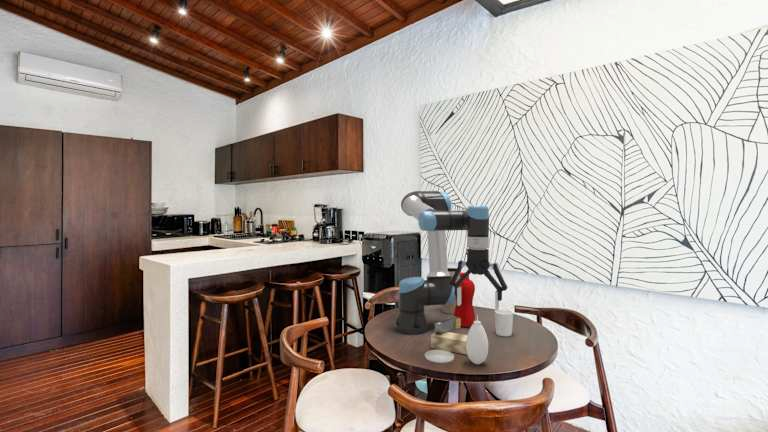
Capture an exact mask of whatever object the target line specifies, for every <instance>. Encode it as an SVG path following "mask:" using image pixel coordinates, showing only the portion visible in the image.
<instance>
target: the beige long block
mask: <svg viewBox="0 0 768 432" xmlns="http://www.w3.org/2000/svg"><path fill="white" fill-rule="evenodd" d="M467 336H468V334H462V333H457V332H450V331H446V332H444V333H442V334H436V333H435V331H434V332H433V333H431V335H430V348H431V349H434V350H445V351H449V352H451V353H452V352H453V353H457V354H464V355H467V356H468V354H467V350H466V340H467Z"/></svg>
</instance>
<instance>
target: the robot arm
mask: <svg viewBox="0 0 768 432" xmlns="http://www.w3.org/2000/svg"><path fill="white" fill-rule="evenodd" d="M400 207H401V210H402V212H403V213H404V214H406V215H407V216H409V217H412V218H414V219H415V220H416V221H417V222H418V227H419V229H420V230H421V231H425V232H427V233H426V235H427V251H428V266H429V268H428V269H429V271H428V272H429V273H428V274H427V275H426V279H425V278H424V277H422V276H412V277H405V278H403V279H402V280H400V281H399V285H398V314H397V316H396V320H395V324H394V329H395V331H397V332H398V333H402V334H406V335H420V334H423V333H427V331H428V330H429V324H428V320H427V317H426V314H425V307H426V306H427V307H428V306H442V305H446V304H452V303H453V302H454V300H455V298H456V296H457V306H460V305H461V287H459V285H460V284H461V283H462V282H463V281H464V280H465V279H466V277H467V276H468V275H469V276H470V274H472V275H480V276H482V275H484V277H486V278H487V280H488V281H489V282H490V284H492V286H493V287H494V288H495V289H496V291H494V293H495V294H494V296H495V297H494V303H495V304H494V305H495V306H494V311H495V310H496V311H497V310H498V309H500V302H501V301H502V300H503V292H504V291H507V289H508V285H507V283H506V281H505V280H504V277H503V275H502V273H501V270H500V269H499V262H494V263H493V262H492V263H491V262H490V260H489V259H490V257H489V256H490V255H489V253H490V250H489V249H488V248H490V247H489V246H490V238H489V237H490V236H489V235H490V223H489V222H490V213H489V211H490V210H489V207H488V206H487V205H468V207H466V210H463V209H461V210H452V202H451V198H450V196H449V194H448V193H447V192H446V191H439V190H426V191H425V190H424V191H423V190H422V191H420V190H416V191H415V190H414V191H411V192H409V193H407V194H406V195H405V196H404V197H403V198H402V199H401V201H400ZM446 231H466V233H467V234H466V236H467V237H466V247H467V249H466V261H465V260H462V259H461V260H459V261H458V263H457V267H456V268H457V269H456V271H455V273H454V275H453V277H452V278H451V274H449V273H448V268H449V267H448V256H447V255H448V254H447V251H448V250H447V239H446ZM465 266H466V267H467V270H466V271H465V272H464V273H465V274H464V275H463V276H462V277H461V278H460V279H459V280H458V282H457V283H456V279H457V277H458V275H459V273H460V272H461V273H462V270H463V268H464V267H465ZM489 268H491V269H492V270H493V272H494V275H495V277H496V278H497V280H498V281H497V280H496V279H495V277H494V276H493V275H492V274H491V272H490V271H489Z"/></svg>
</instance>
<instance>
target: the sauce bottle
mask: <svg viewBox="0 0 768 432" xmlns="http://www.w3.org/2000/svg"><path fill="white" fill-rule="evenodd" d="M469 328H470V329H469V330H468V332H467V335H468V336H467V340H466V350H467V354H468V355H467V354H466V355H467V357H468V359H469V360H470V362H471V363H472V364H474V365H481V364H482V363H484V362H485V361H486V359H487V357H488V353H489V339H488V335H487V333H486V329H485V328H484V326H483V325H482V321H480V320H479V314H476V320H475V321H474V324H473V325H472V326H471V327H469Z"/></svg>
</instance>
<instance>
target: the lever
mask: <svg viewBox="0 0 768 432" xmlns="http://www.w3.org/2000/svg"><path fill="white" fill-rule="evenodd" d="M461 327H462V326H461V318H459V317H455V316H454V315H453V316H450V317H449V318H446V319H443V320H441V321H435V322H434V332H435V333H436V334H442V333H444V332H450V331H452V330H455V329H456V330H457V329H460V328H461Z"/></svg>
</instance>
